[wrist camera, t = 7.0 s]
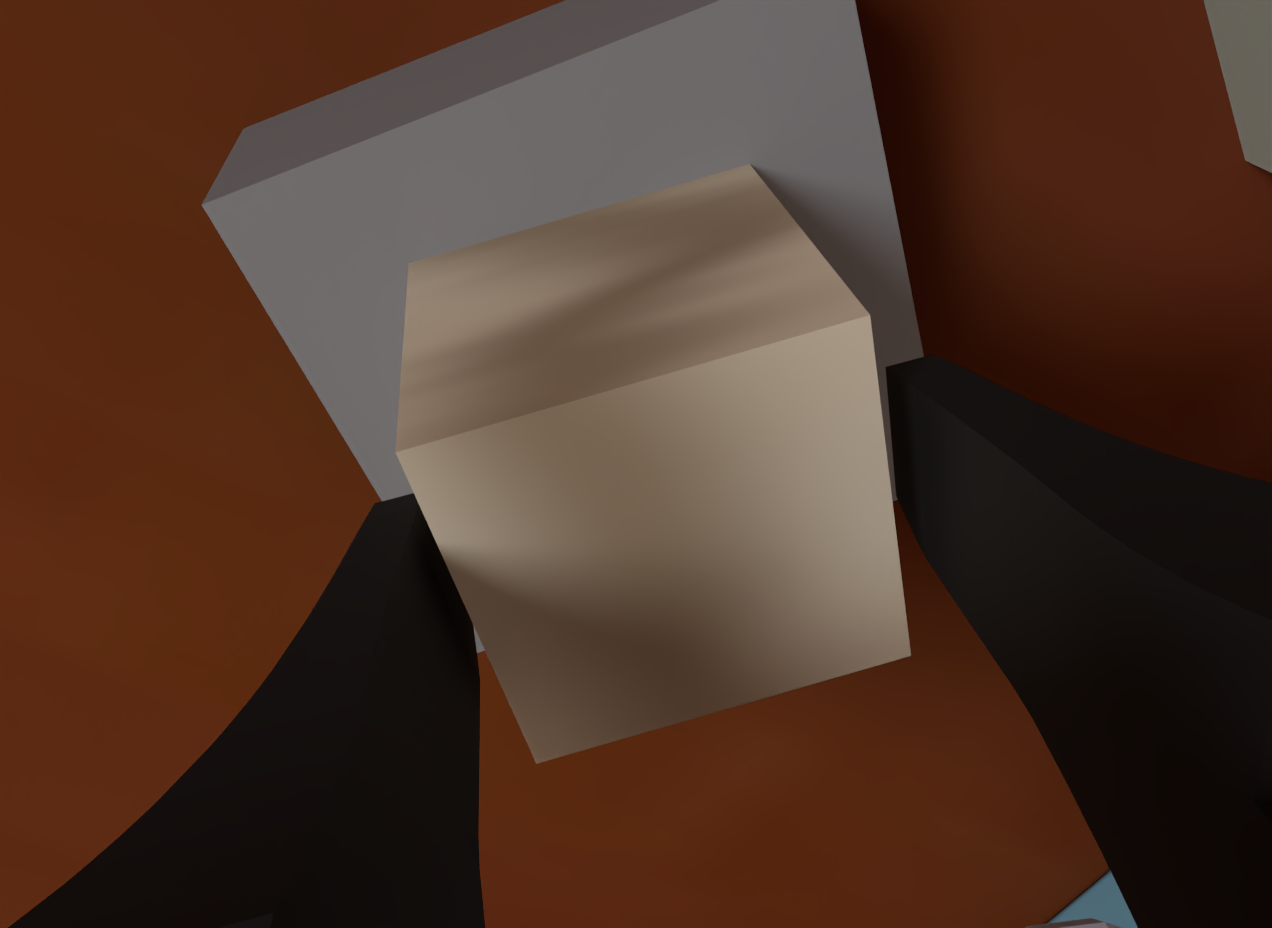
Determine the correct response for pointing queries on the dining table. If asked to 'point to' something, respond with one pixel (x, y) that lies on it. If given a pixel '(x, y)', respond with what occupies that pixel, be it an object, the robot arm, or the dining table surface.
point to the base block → (553, 172)
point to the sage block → (1247, 70)
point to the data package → (1099, 905)
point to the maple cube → (653, 460)
